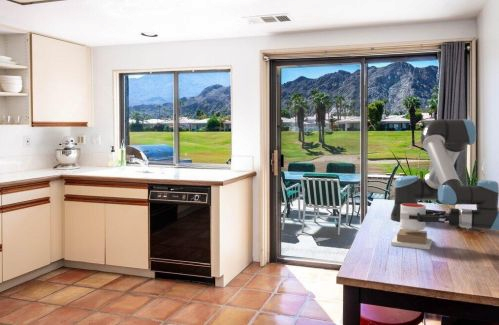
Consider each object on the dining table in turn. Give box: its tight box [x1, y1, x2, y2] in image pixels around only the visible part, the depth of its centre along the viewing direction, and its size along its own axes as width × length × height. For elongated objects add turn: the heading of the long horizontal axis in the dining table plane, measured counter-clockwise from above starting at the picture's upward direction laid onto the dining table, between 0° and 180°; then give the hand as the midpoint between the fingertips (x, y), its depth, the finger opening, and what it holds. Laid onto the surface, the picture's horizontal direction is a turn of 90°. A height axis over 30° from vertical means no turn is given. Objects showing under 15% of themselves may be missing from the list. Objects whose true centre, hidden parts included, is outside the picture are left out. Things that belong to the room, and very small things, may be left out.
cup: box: [399, 203, 427, 231], centre depth 187 cm, size 10×10×10 cm
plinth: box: [390, 228, 433, 251], centre depth 188 cm, size 15×15×4 cm
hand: (402, 213), depth 189 cm, fingers closed on cup, 10 cm apart
